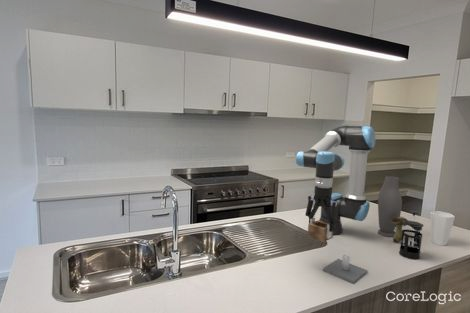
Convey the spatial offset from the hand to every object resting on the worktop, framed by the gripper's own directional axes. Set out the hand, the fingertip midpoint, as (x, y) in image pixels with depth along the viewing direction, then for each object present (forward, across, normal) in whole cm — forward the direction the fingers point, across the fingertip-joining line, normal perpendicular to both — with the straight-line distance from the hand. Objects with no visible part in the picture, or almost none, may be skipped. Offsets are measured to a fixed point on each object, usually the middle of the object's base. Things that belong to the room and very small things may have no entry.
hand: (320, 234), depth 133 cm
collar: (+1, 0, 0) cm, 1 cm away
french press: (+15, +24, +48) cm, 55 cm away
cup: (+16, +29, +78) cm, 84 cm away
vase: (+16, +4, +68) cm, 70 cm away
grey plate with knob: (+15, +10, +5) cm, 19 cm away
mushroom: (+15, +14, +59) cm, 63 cm away
